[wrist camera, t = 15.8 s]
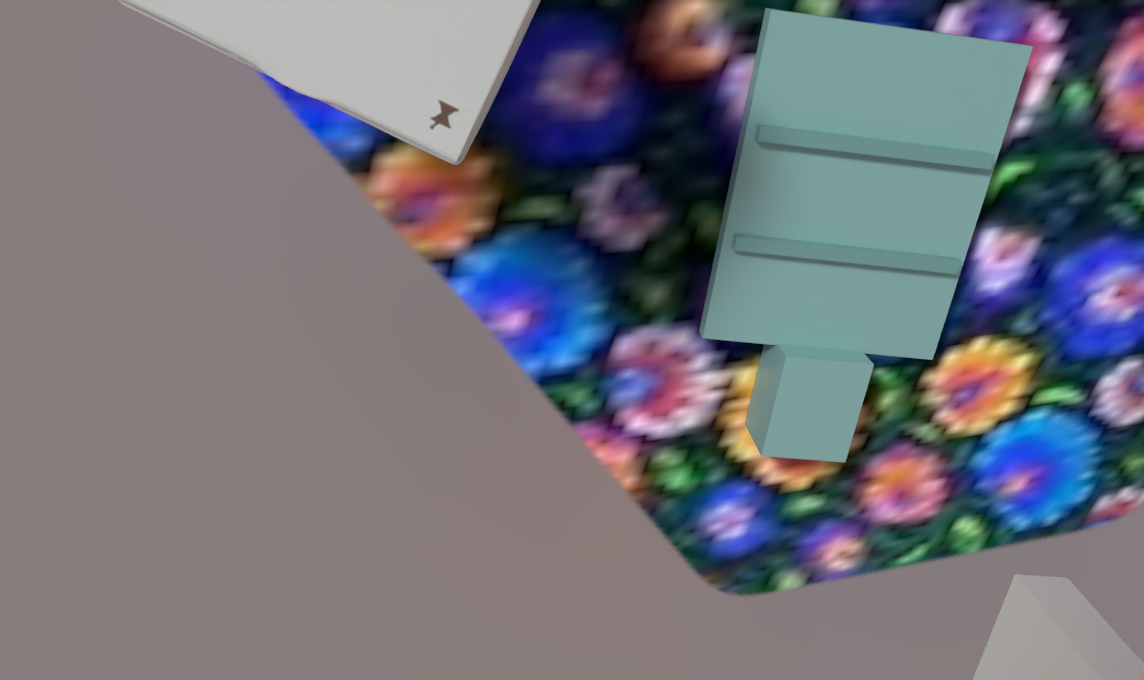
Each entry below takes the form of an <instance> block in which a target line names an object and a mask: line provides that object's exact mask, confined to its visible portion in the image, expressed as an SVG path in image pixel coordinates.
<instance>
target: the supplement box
mask: <svg viewBox="0 0 1144 680" xmlns="http://www.w3.org/2000/svg"><path fill="white" fill-rule="evenodd" d="M118 1H119V2H120V3H121V4H123V5H125V6H127V7H129V8H131V9H133V10H135V11H137V12H139V13H141V14H143V15H145V16H147V17H149V18H152V19H154V20H156V21H158V22H160V23H162V24H164V25H166V26H168V27H170V28H172V29H174V30H176V31H179V32H180V33H182V34H185V35H187V36H189V37H191V38H193V39H195V40H197V41H199V42H201V43H203V44H205V45H207V46H209V47H211V48H213V49H215V50H217V51H219V52H222V53H224V54H225V55H228V56H230V57H232V58H234V59H236V60H238V61H240V62H242V63H244V64H246V65H248V66H250V67H252V68H254V69H256V70H258V71H260V72H262V73H264V74H266V75H268V76H270V77H272V78H274V79H275V80H277V81H278V82H280V83H281V84H283V85H285V86H287V87H289V88H291V89H293V90H295V91H297V92H299V93H301V94H304V95H307V96H309V97H312V98H315V99H318V100H320V101H322V102H324V103H326V104H328V105H330V106H332V107H334V108H336V109H339V110H341V111H343V112H345V113H347V114H349V115H351V116H353V117H355V118H357V119H360V120H362V121H364V122H366V123H368V124H370V125H372V126H374V127H376V128H378V129H380V130H382V131H384V132H386V133H388V134H390V135H392V136H394V137H396V138H398V139H400V140H402V141H404V142H406V143H408V144H410V145H412V146H414V147H417V148H419V149H421V150H423V151H425V152H427V153H429V154H431V155H433V156H436V157H438V158H440V159H442V160H444V161H446V162H448V163H451V164H454V165H458V164H460V163H461V162H462V161H463V160H464V158H465V156H466V154H467V152H468V150H469V148H470V146H471V144H472V142H473V141H474V139H475V137H476V135H477V133H478V131H479V129H480V127H481V125H482V123H483V121H484V119H485V117H486V115H487V113H488V111H489V109H490V107H491V105H492V103H493V101H494V99H495V97H496V95H497V93H498V91H499V88H500V86H501V84H502V82H503V80H504V78H505V76H506V74H507V72H508V70H509V68H510V66H511V63H512V61H513V59H514V57H515V55H516V53H517V50H518V48H519V46H520V44H521V42H522V40H523V37H524V35H525V33H526V31H527V29H528V27H529V24H530V22H531V20H532V18H533V16H534V14H535V11H536V9H537V7H538V5H539V3H540V0H118Z"/></svg>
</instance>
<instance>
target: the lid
mask: <svg viewBox="0 0 1144 680" xmlns="http://www.w3.org/2000/svg"><path fill="white" fill-rule="evenodd" d="M1032 48H1033V47H1032V46H1028V45H1023V44H1017V43H1010V42H1002V41H995V40H988V39H981V38H974V37H967V36H960V35H953V34H946V33H939V32H932V31H925V30H918V29H911V28H903V27H896V26H889V25H882V24H875V23H868V22H861V21H854V20H847V19H840V18H833V17H826V16H819V15H812V14H804V13H797V12H790V11H783V10H776V9H769V8H766V9H765V14H764V18H763V23H762V28H761V33H760V38H759V43H758V48H757V52H756V57H755V62H754V67H753V72H752V77H751V82H750V86H749V91H748V96H747V101H746V106H745V111H744V115H743V120H742V125H741V130H740V135H739V140H738V145H737V149H736V154H735V159H734V164H733V169H732V174H731V179H730V183H729V188H728V193H727V198H726V203H725V208H724V213H723V217H722V222H721V227H720V232H719V237H718V242H717V246H716V251H715V256H714V261H713V266H712V271H711V276H710V280H709V285H708V290H707V295H706V300H705V305H704V310H703V314H702V319H701V324H700V329H699V332H700V334H701V336H702V338H705V339H716V340H727V341H737V342H748V343H758V344H764V346H763V350H762V354H761V358H760V362H759V367H758V371H757V375H756V379H755V383H754V388H753V392H752V396H751V400H750V404H749V409H748V413H747V417H746V421H745V425H746V427H747V429H748V431H749V433H750V434H751V436H752V438H753V440H754V442H755V444H756V446H757V448H758V450H759V452H760V454H761V456H768V457H781V458H794V459H806V460H819V461H832V462H846V459H847V455H848V452H849V448H850V445H851V442H852V438H853V435H854V431H855V428H856V424H857V421H858V418H859V414H860V411H861V407H862V404H863V401H864V397H865V394H866V390H867V387H868V384H869V380H870V377H871V373H872V370H873V367H874V364H873V363H872V362H871V361H870V359H869V358H868V357H867V356H866V355H865V354H875V355H886V356H897V357H907V358H918V359H929V360H933V357H934V354H935V351H936V348H937V344H938V341H939V338H940V335H941V332H942V329H943V326H944V323H945V319H946V316H947V313H948V310H949V307H950V304H951V301H952V298H953V294H954V291H955V288H956V285H957V282H958V279H959V276H960V273H961V270H962V266H963V263H964V260H965V257H966V254H967V251H968V248H969V245H970V241H971V238H972V235H973V232H974V229H975V226H976V223H977V220H978V217H979V213H980V210H981V207H982V204H983V201H984V198H985V195H986V192H987V188H988V185H989V182H990V179H991V176H992V173H993V170H994V167H995V164H996V160H997V157H998V154H999V151H1000V148H1001V145H1002V142H1003V139H1004V135H1005V132H1006V129H1007V126H1008V123H1009V120H1010V117H1011V114H1012V111H1013V107H1014V104H1015V101H1016V98H1017V95H1018V92H1019V89H1020V86H1021V82H1022V79H1023V76H1024V73H1025V70H1026V67H1027V64H1028V61H1029V57H1030V54H1031V51H1032ZM864 353H865V354H864Z"/></svg>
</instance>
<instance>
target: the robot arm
mask: <svg viewBox="0 0 1144 680" xmlns="http://www.w3.org/2000/svg"><path fill="white" fill-rule="evenodd" d="M973 680H1144V664H1143V662H1142V661H1141V660H1140V659H1139V658H1138V657H1137V656H1136V655H1135V653H1134V652H1133V651H1132V650H1131V649H1130V648H1129V647H1128V646H1127V645H1126V643H1125V642H1124V641H1123V640H1122V639H1121V638H1120V637H1119V635H1118V634H1117V633H1116V632H1115V631H1114V630H1113V629H1112V628H1111V626H1110V625H1109V624H1108V623H1107V622H1106V621H1105V620H1104V618H1103V617H1102V616H1101V615H1100V614H1099V613H1098V612H1097V610H1096V609H1095V608H1094V607H1093V606H1092V605H1091V604H1090V603H1089V602H1088V601H1087V599H1086V598H1085V597H1084V596H1083V595H1082V593H1081V592H1080V591H1079V590H1078V589H1077V588H1076V587H1075V586H1074V585H1073V583H1071V581H1070V580H1069V579H1068V578H1064V577H1048V576H1032V575H1016V574H1015V576H1014V578H1013V581H1012V583H1011V586H1010V588H1009V591H1008V593H1007V596H1006V598H1005V601H1004V603H1003V606H1002V608H1001V611H1000V613H999V616H998V618H997V621H996V623H995V626H994V628H993V630H992V633H991V636H990V638H989V640H988V643H987V645H986V648H985V651H984V653H983V655H982V658H981V660H980V663H979V665H978V668H977V671H976V673H975V675H974V678H973Z"/></svg>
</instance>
